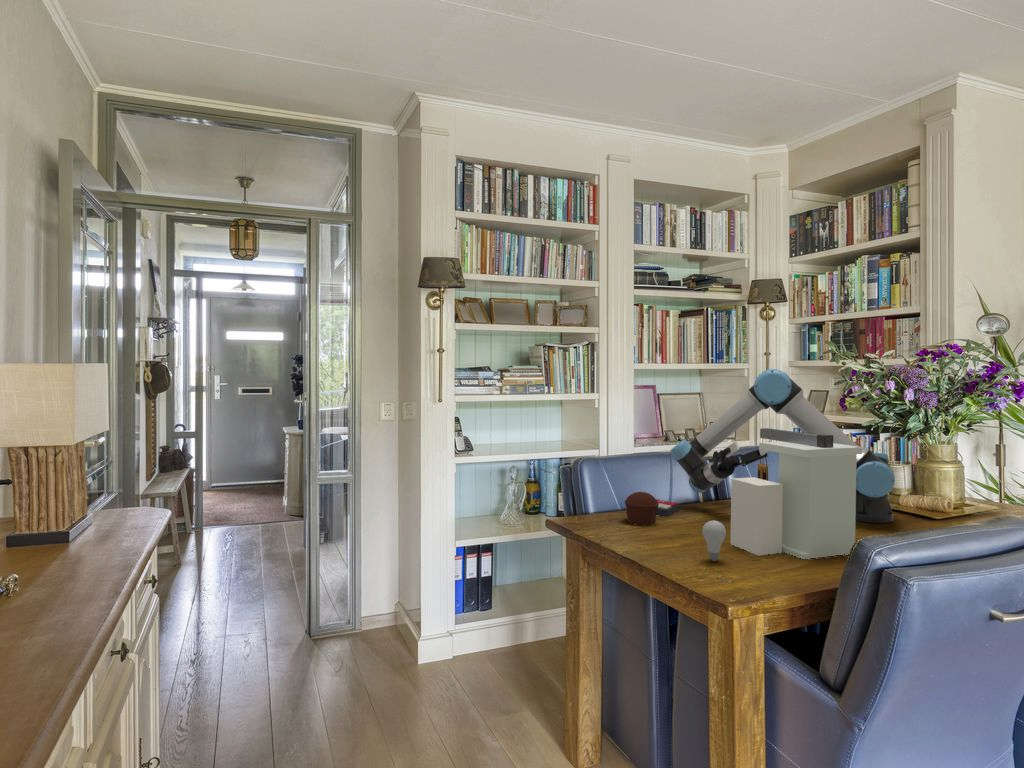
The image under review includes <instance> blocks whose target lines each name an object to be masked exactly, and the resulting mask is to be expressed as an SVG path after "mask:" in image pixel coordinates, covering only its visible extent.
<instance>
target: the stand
mask: <svg viewBox="0 0 1024 768" xmlns="http://www.w3.org/2000/svg"><path fill="white" fill-rule="evenodd" d="M758 448H759V449H761V450H767V451H769V452H772V453H773V452H774V453H778V483H780V484H783V497H782V553H784V552H785V553H784V554H786V553H787V555H789V554H790V555H789V556H791V555H793V556H792V557H794V556H796V557H795V558H797V557H798V558H797V559H799V558H801V559H800V560H802V559H808V560H811V559H810V558H816V559H819V558H818V557H825V558H827V557H826V556H834V557H836V556H835V555H843V556H848V554H849V551H850V549H851V548H852V546H853V545H854V543H855V544H856V520H855V517H856V458H857V455H859V454H862V448H863V446H859V447H857V446H850V445H843V444H836V443H833V447H832V448H821V447H815V446H809V445H802V444H796V443H789V442H783V441H772V442H768V441H765V442H763V441H762V442H761V441H760V442H759V446H758ZM844 554H845V555H844Z"/></svg>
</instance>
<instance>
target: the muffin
mask: <svg viewBox="0 0 1024 768" xmlns="http://www.w3.org/2000/svg"><path fill="white" fill-rule="evenodd" d="M656 499H657V498H655V496H653V495H652V494H650V493H649V492H646V491H636V492H633V493H631V494H629V495H628V496H627V497H626V499H625V500H624V504H625V508H626V516H627V522H628V521H629V522H628V523H629V524H630V523H632V525H634V524H636V525H635V526H642V525H646V526H652V525H655V524H656V519H657V516H656V514H657V508H658V505H659V504H658V502H657V501H656ZM654 523H655V524H654Z"/></svg>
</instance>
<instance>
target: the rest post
mask: <svg viewBox="0 0 1024 768" xmlns="http://www.w3.org/2000/svg"><path fill="white" fill-rule="evenodd" d="M730 480H731V482H730V484H731V485H730V545H731V546H733V545H734V547H736V548H738V547H739V548H738V549H741V550H743V549H744V551H745V550H746V552H748V553H751V554H753V555H756V556H758V557H760V556H768V554H770V555H776V553H779V554H782V553H783V552H782V497H783V484H780V483H779V482H776V481H772V480H771V481H770V480H768V481H767V480H763V479H759V478H758V477H754V476H753V477H736V478H730Z"/></svg>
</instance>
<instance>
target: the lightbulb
mask: <svg viewBox="0 0 1024 768" xmlns="http://www.w3.org/2000/svg"><path fill="white" fill-rule="evenodd" d="M701 530H702V532H701V533H702V536H703V538H704V540H705V542H706V546H707V551H708V559H709V560H710V561H712V562H716V561H718V560H719V558H720V552H721V547H722V543H723V542H724V541H725V538H726V537H727V530H726V527H725V525H724V524H723V523H722V522H720V521H718V520H713V519H712V520H709V521H707V522H705V524H704V525H703V527H702V529H701Z"/></svg>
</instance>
